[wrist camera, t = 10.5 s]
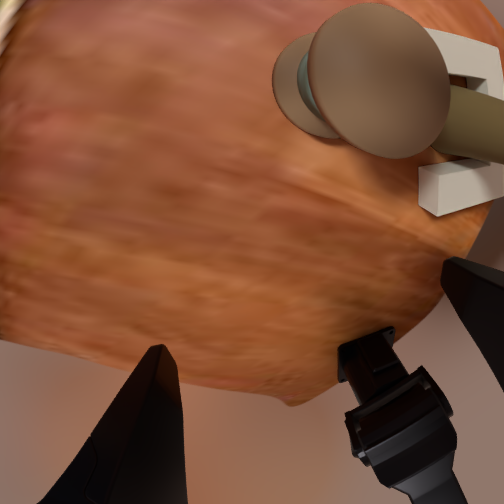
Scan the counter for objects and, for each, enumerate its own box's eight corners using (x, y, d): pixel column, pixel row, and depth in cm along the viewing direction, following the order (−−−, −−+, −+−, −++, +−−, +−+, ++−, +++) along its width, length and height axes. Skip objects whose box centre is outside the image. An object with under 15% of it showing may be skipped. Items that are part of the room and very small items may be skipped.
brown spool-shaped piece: (379, 129, 17) (455, 150, 11) (284, 145, 17) (333, 171, 11) (362, 34, 14) (435, 14, 7) (260, 40, 14) (297, -1, 7)
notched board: (486, 187, 21) (503, 196, 19) (418, 205, 21) (437, 216, 18) (478, 47, 14) (498, 47, 12) (400, 31, 14) (421, 27, 12)
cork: (419, 75, 15) (544, 88, 6) (467, 90, 16) (572, 114, 7) (418, 150, 18) (534, 202, 9) (465, 155, 19) (563, 201, 9)
